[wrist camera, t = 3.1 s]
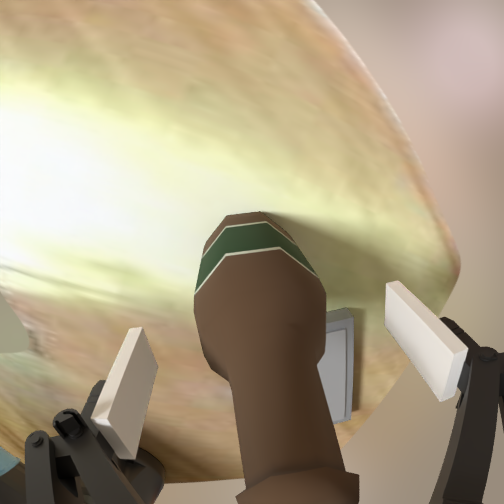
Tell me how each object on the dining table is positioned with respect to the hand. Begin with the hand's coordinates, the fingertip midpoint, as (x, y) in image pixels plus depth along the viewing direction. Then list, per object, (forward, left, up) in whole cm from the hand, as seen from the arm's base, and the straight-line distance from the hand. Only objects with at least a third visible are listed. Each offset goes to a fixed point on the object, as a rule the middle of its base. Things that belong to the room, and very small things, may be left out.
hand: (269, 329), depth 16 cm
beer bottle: (0, 0, -14) cm, 14 cm away
